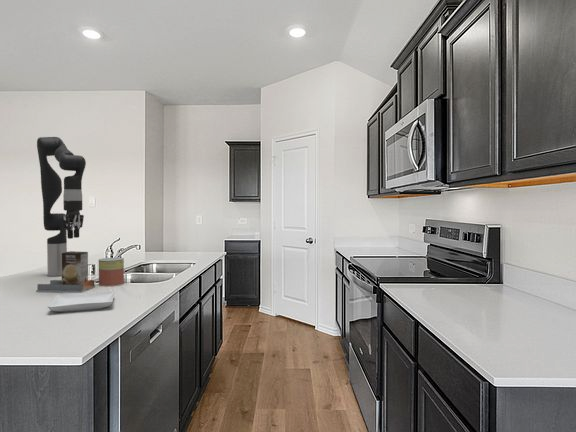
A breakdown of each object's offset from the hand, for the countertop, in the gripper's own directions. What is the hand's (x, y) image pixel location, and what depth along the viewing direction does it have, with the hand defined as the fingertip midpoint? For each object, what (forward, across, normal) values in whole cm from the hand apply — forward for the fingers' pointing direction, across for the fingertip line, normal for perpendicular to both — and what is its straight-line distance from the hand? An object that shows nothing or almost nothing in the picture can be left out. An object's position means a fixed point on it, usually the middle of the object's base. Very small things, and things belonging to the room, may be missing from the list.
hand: (73, 237), depth 186 cm
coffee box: (+23, 0, 0) cm, 23 cm away
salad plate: (+24, +28, +20) cm, 42 cm away
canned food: (+24, -14, +10) cm, 29 cm away
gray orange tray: (+23, 0, -4) cm, 24 cm away
